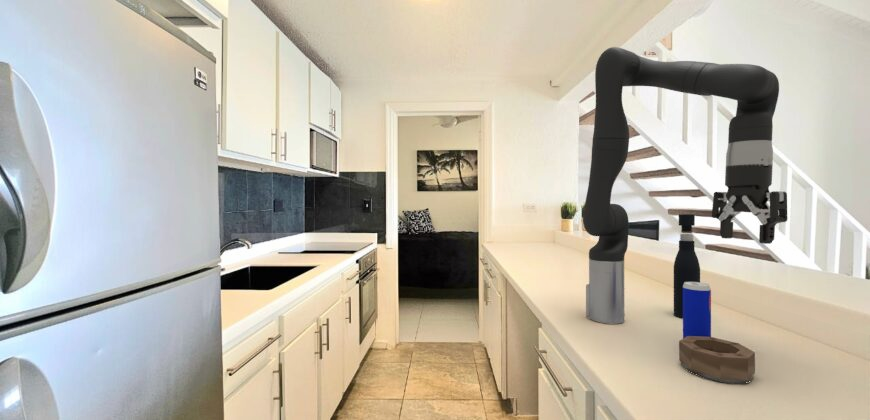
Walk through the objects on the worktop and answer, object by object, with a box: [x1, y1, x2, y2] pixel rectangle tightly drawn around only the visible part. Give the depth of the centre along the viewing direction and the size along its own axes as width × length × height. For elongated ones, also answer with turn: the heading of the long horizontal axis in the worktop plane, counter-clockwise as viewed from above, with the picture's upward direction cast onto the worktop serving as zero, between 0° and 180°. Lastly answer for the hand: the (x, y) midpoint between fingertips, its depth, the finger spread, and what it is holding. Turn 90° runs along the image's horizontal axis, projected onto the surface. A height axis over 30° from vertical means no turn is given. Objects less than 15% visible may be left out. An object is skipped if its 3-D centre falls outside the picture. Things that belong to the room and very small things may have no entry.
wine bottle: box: [673, 213, 701, 319], centre depth 107 cm, size 6×6×30 cm
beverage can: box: [682, 281, 712, 339], centre depth 82 cm, size 5×5×15 cm
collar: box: [678, 336, 756, 384], centre depth 72 cm, size 11×11×5 cm
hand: (745, 240), depth 78 cm, fingers open, 8 cm apart
